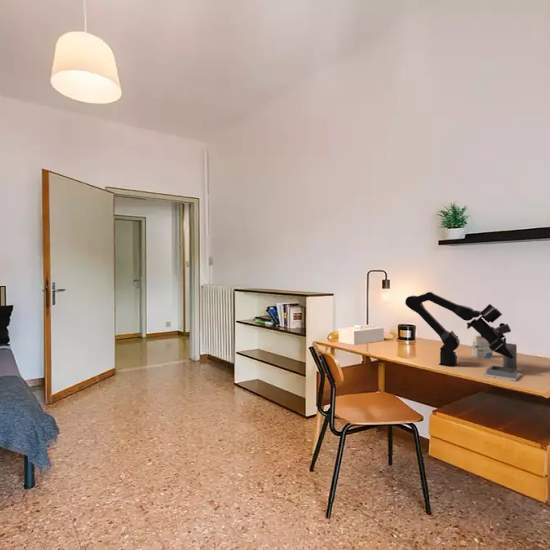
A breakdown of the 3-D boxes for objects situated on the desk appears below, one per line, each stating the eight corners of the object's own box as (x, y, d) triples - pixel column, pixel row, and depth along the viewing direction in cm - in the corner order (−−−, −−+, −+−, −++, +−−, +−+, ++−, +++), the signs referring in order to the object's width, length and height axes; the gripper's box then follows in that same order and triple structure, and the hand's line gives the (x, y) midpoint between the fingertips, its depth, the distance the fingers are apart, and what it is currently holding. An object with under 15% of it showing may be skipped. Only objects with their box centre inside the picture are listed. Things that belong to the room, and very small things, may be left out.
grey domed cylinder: (501, 371, 175) (501, 344, 175) (504, 369, 179) (504, 342, 179) (515, 373, 172) (515, 346, 172) (517, 371, 176) (517, 344, 175)
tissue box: (338, 341, 252) (338, 324, 252) (367, 338, 265) (367, 321, 265) (354, 345, 240) (353, 327, 240) (383, 341, 253) (383, 324, 253)
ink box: (487, 355, 207) (487, 333, 207) (492, 358, 202) (492, 335, 202) (471, 356, 207) (471, 333, 206) (476, 358, 202) (476, 335, 201)
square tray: (483, 376, 168) (482, 369, 168) (489, 371, 176) (489, 364, 176) (515, 381, 160) (515, 373, 160) (520, 375, 168) (520, 368, 168)
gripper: (497, 320, 169) (528, 348, 164) (499, 315, 185) (527, 340, 180) (477, 337, 174) (506, 364, 168) (480, 331, 189) (507, 356, 184)
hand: (512, 356), depth 175 cm, fingers open, 9 cm apart
